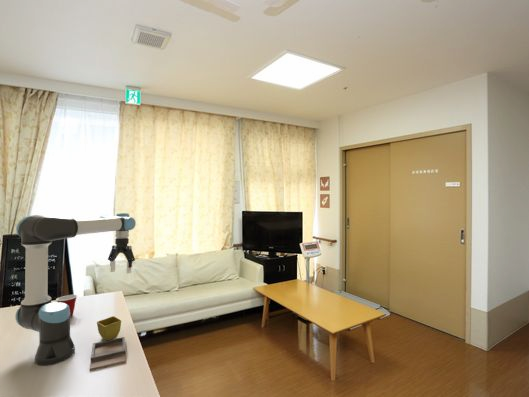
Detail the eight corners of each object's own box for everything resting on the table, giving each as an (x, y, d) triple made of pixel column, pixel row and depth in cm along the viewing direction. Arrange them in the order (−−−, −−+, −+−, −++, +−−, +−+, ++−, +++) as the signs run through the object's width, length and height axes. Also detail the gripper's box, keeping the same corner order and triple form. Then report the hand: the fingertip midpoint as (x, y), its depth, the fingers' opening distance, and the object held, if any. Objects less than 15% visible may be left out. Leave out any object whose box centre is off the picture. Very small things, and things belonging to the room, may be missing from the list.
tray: (125, 362, 133) (125, 357, 133) (89, 371, 127) (89, 365, 127) (124, 341, 151) (124, 337, 151) (92, 348, 145) (92, 343, 145)
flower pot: (104, 344, 149) (104, 326, 148) (96, 338, 154) (96, 321, 154) (121, 337, 156) (121, 320, 155) (113, 332, 161) (113, 315, 161)
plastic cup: (73, 311, 188) (73, 292, 188) (80, 315, 181) (80, 296, 181) (53, 316, 180) (53, 297, 179) (59, 322, 173) (59, 301, 173)
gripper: (141, 237, 185) (140, 272, 183) (112, 237, 195) (111, 270, 193) (132, 238, 178) (130, 274, 177) (102, 237, 188) (101, 272, 186)
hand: (120, 272), depth 185 cm, fingers open, 13 cm apart
